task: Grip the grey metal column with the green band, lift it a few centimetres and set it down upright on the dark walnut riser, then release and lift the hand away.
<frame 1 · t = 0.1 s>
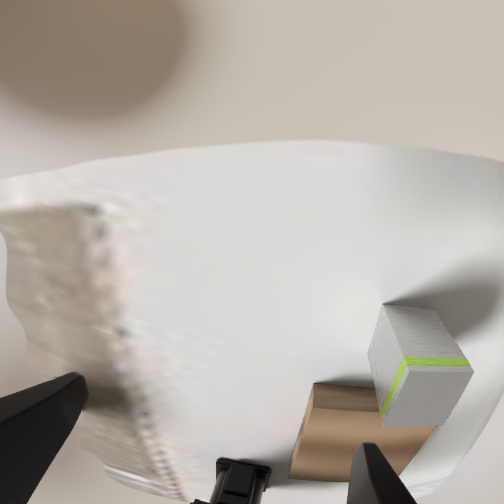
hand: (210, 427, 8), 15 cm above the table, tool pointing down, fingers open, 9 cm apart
metal column: (400, 332, 21), on the table
walnut riser: (359, 430, 25), on the table
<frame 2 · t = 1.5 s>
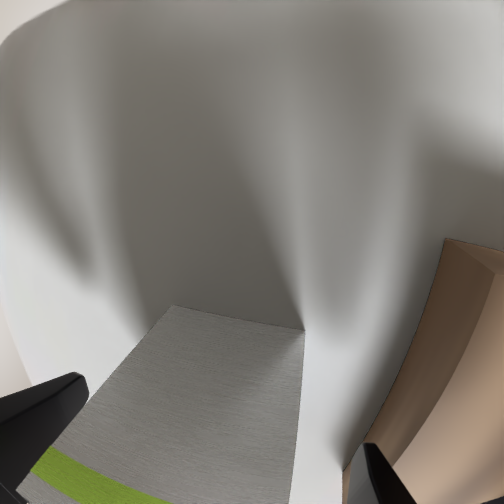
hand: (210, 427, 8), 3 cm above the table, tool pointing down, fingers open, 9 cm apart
metal column: (231, 370, 11), on the table
walnut riser: (500, 392, 9), on the table
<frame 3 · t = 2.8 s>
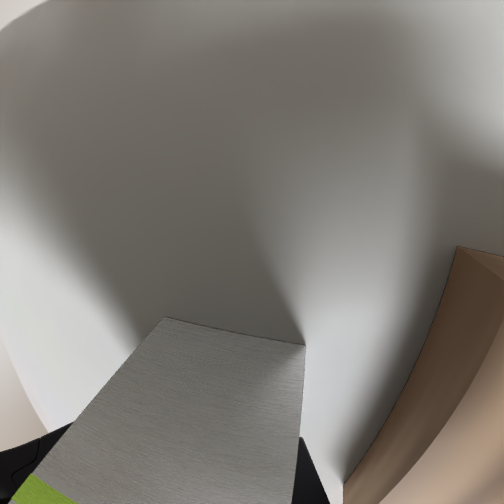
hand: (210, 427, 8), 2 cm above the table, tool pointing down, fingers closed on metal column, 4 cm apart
metal column: (227, 385, 10), on the table, touching gripper
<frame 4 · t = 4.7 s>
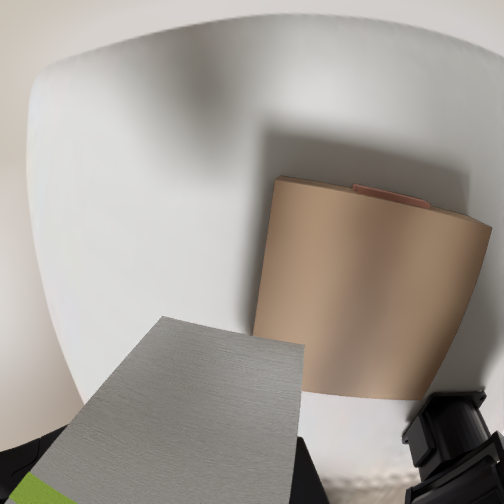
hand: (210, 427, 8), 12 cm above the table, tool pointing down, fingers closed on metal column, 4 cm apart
metal column: (226, 384, 10), point 10 cm above the table, touching gripper
walnut riser: (361, 291, 18), on the table
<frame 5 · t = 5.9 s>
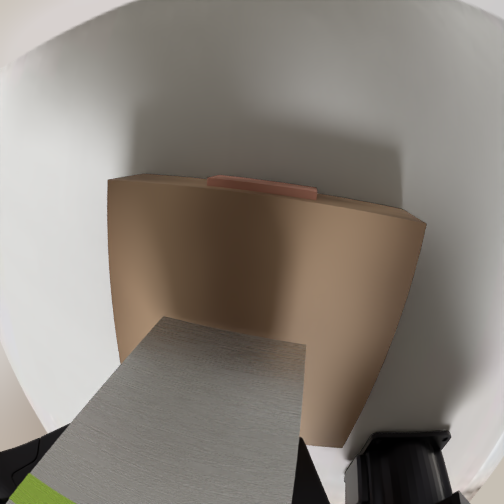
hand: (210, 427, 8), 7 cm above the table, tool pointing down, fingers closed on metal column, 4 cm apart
metal column: (227, 384, 10), point 5 cm above the table, touching gripper
walnut riser: (253, 310, 15), on the table
when the fingers open (6 cm above the table, at t = 6.8 s): metal column drops 1 cm, resting on walnut riser.
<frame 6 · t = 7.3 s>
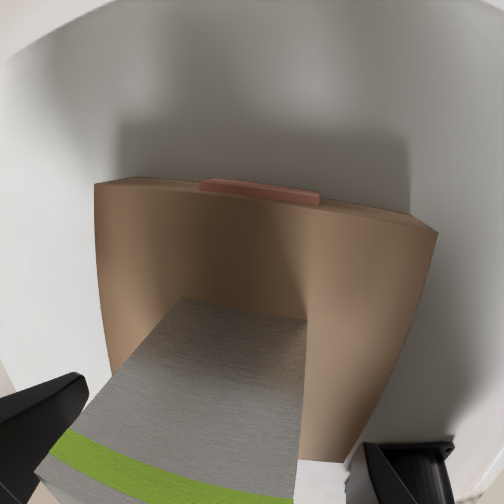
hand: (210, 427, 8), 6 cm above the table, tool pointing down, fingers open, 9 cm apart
metal column: (237, 360, 11), point 3 cm above the table, touching walnut riser
walnut riser: (250, 321, 14), on the table
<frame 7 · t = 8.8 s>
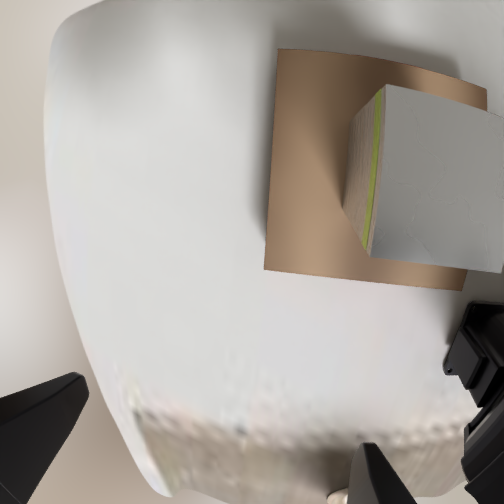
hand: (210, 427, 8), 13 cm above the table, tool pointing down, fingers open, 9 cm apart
metal column: (388, 171, 14), point 3 cm above the table, touching walnut riser
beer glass: (351, 495, 27), on the table
walnut riser: (376, 169, 17), on the table
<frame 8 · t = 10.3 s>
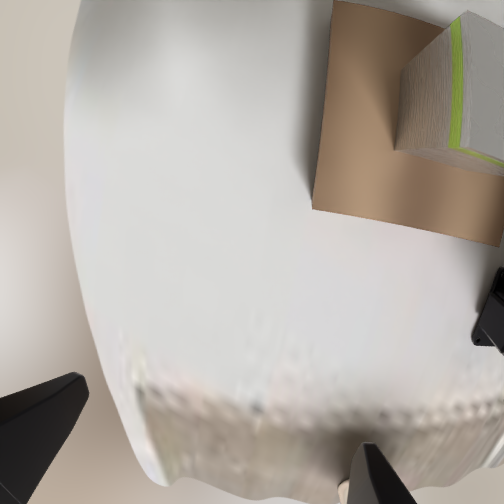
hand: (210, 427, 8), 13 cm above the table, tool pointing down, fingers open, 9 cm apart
metal column: (436, 119, 13), point 3 cm above the table, touching walnut riser
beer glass: (363, 483, 26), on the table
walnut riser: (417, 124, 16), on the table
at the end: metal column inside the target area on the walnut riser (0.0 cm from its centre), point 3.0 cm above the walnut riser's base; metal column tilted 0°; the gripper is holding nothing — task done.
